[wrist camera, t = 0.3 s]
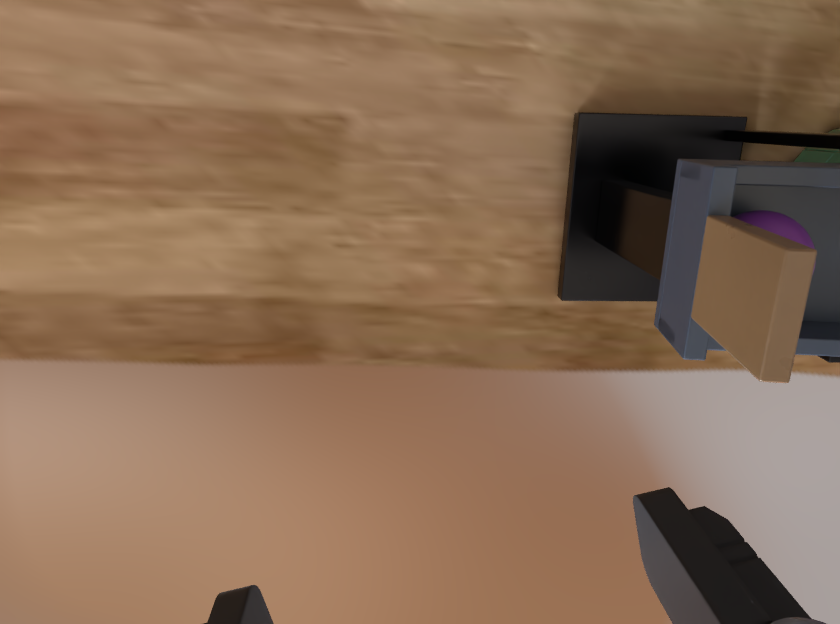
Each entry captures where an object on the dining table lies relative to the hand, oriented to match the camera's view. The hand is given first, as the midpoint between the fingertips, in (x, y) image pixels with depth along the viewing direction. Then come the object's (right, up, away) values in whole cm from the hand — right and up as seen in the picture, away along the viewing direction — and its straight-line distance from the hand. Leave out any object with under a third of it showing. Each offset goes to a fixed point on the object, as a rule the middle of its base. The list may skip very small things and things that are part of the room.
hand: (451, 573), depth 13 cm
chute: (+13, +8, +9) cm, 18 cm away
